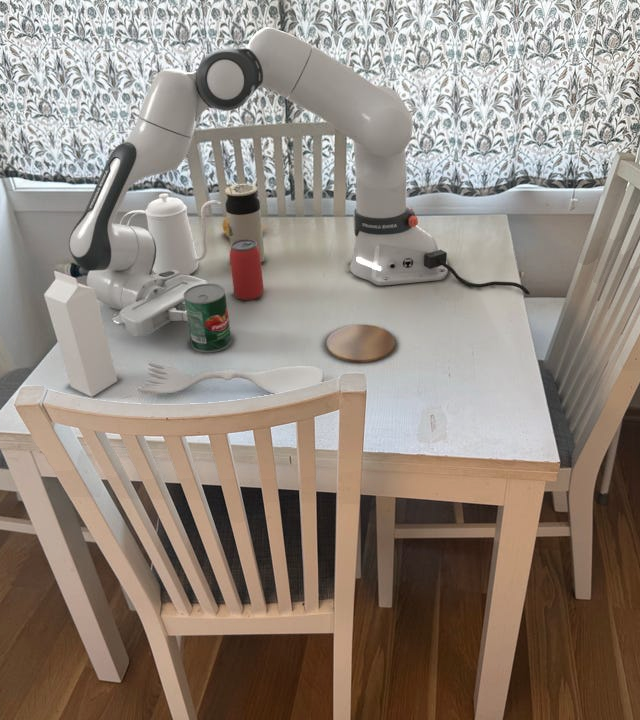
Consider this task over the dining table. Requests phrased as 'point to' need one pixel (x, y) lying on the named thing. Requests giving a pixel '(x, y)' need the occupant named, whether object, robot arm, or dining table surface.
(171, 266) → the coffeepot
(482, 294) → the dining table surface
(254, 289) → the beer can
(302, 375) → the white serving fork
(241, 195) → the travel mug
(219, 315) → the canned tomato
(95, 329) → the milk
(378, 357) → the wooden trivet
